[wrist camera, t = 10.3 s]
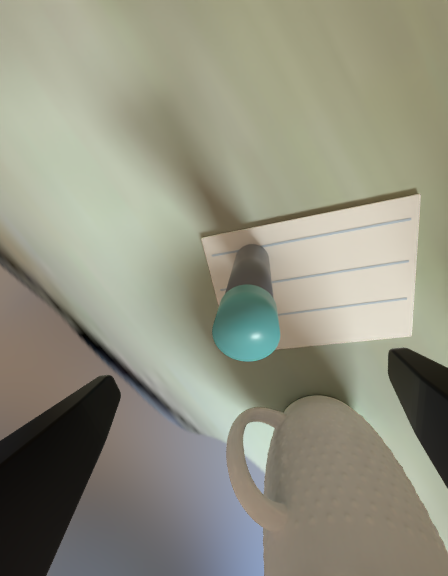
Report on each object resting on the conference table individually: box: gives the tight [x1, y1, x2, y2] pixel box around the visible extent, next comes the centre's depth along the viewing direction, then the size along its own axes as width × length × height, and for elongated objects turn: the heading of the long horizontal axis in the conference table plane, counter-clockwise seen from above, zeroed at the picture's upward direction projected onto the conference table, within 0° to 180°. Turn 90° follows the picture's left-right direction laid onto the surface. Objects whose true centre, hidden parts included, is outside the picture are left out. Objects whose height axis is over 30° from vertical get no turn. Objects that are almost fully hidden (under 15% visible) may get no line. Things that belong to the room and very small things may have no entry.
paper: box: [201, 194, 421, 350], centre depth 20 cm, size 15×11×1 cm
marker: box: [212, 244, 280, 362], centre depth 15 cm, size 3×3×10 cm
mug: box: [226, 395, 448, 576], centre depth 19 cm, size 15×11×13 cm
